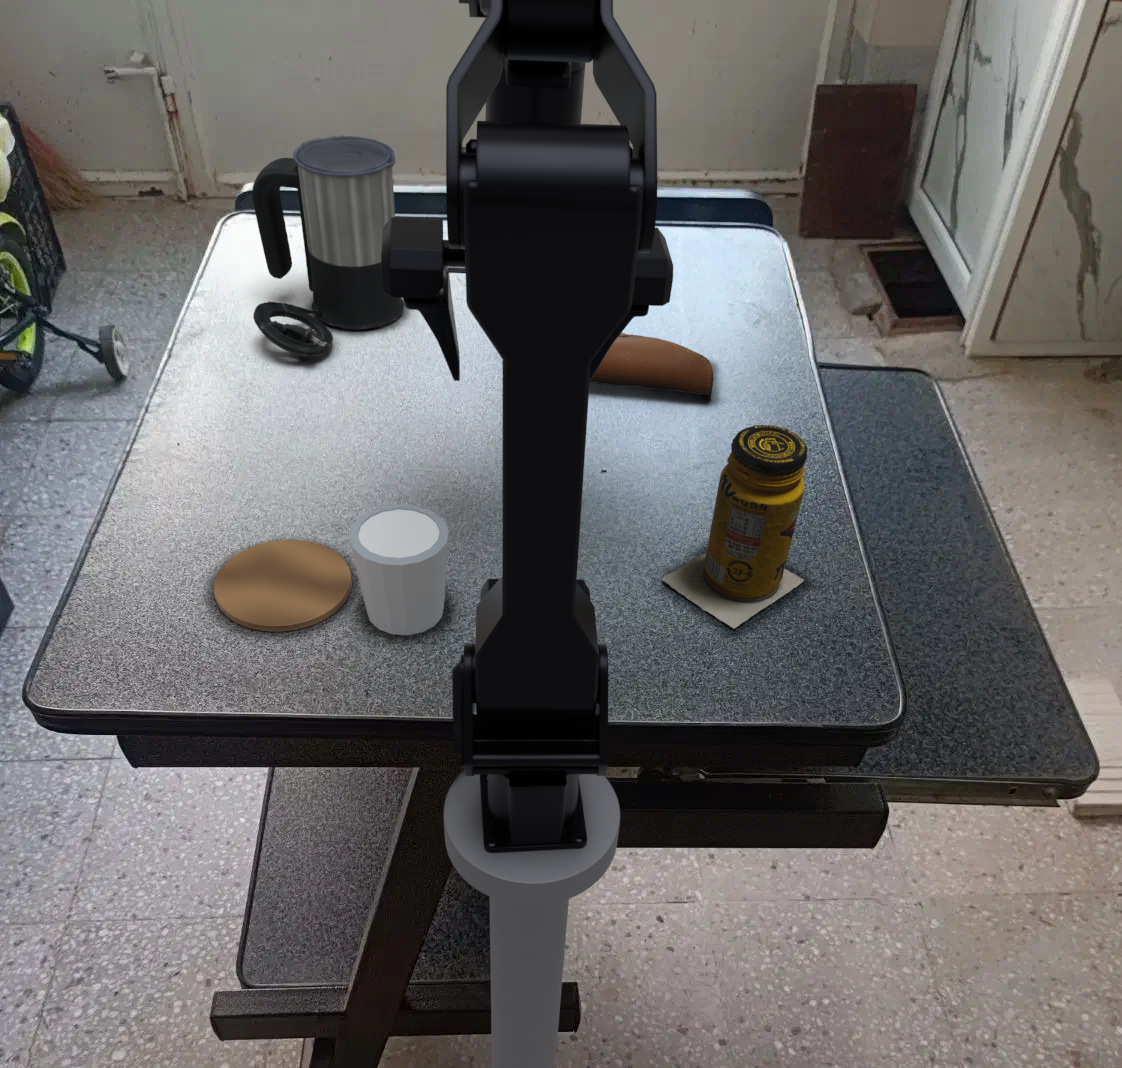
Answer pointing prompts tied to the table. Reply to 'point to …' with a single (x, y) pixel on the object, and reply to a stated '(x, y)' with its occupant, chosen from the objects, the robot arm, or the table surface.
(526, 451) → the robot arm
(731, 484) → the condiment
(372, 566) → the white tapered cup
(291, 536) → the table surface
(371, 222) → the milk frother
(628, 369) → the sunglasses case
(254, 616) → the cork coaster
